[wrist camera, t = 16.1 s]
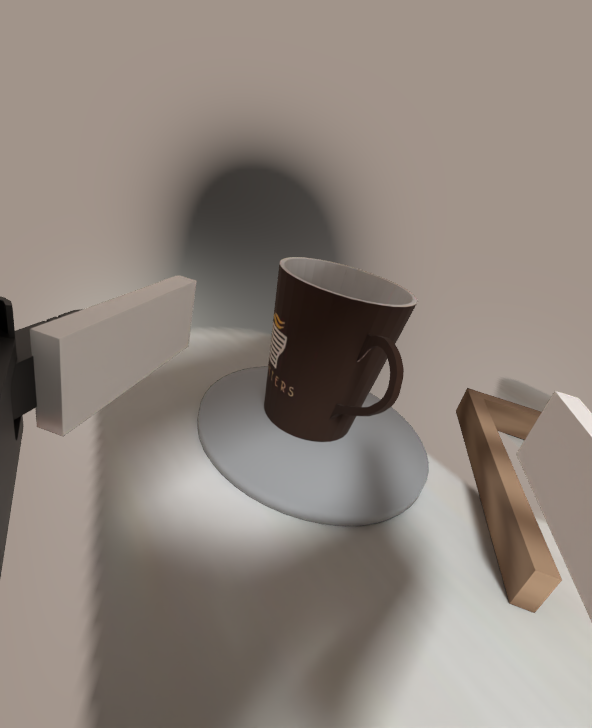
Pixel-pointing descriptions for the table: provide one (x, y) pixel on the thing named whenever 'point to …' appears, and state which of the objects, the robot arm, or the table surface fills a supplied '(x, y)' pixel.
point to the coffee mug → (332, 346)
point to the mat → (311, 458)
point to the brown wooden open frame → (507, 497)
